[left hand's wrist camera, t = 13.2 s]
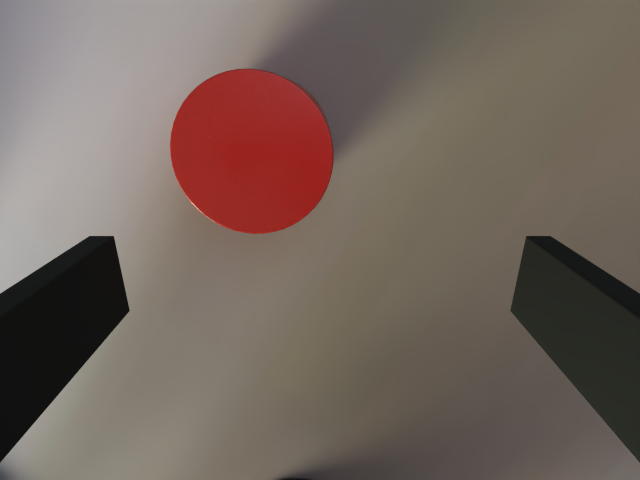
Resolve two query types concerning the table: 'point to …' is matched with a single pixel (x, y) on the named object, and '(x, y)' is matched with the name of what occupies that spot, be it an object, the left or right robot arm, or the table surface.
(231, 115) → the canister
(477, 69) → the table surface
